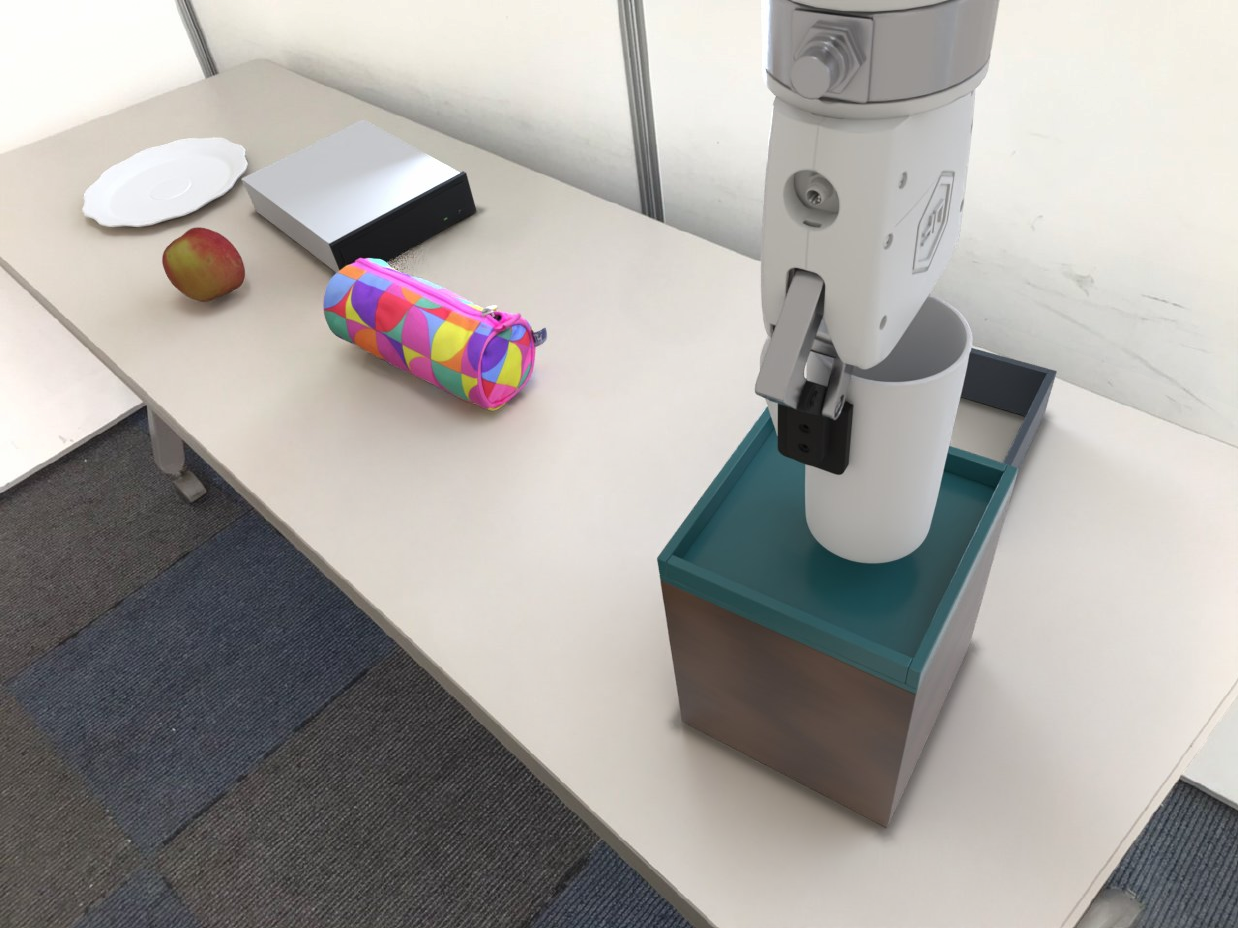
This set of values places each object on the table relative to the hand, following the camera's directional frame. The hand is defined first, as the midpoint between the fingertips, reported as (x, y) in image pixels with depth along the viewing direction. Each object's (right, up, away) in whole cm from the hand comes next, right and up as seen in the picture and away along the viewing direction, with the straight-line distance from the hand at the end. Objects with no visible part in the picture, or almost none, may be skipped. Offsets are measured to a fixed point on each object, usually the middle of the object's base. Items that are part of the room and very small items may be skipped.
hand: (847, 406), depth 44 cm
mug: (+1, -5, +5) cm, 7 cm away
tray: (+1, -7, +7) cm, 10 cm away
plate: (-68, +32, +77) cm, 108 cm away
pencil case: (-28, +7, +47) cm, 55 cm away
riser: (+3, -17, +19) cm, 26 cm away
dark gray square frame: (+14, -1, +32) cm, 35 cm away
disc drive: (-41, +27, +68) cm, 83 cm away
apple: (-55, +16, +59) cm, 82 cm away
